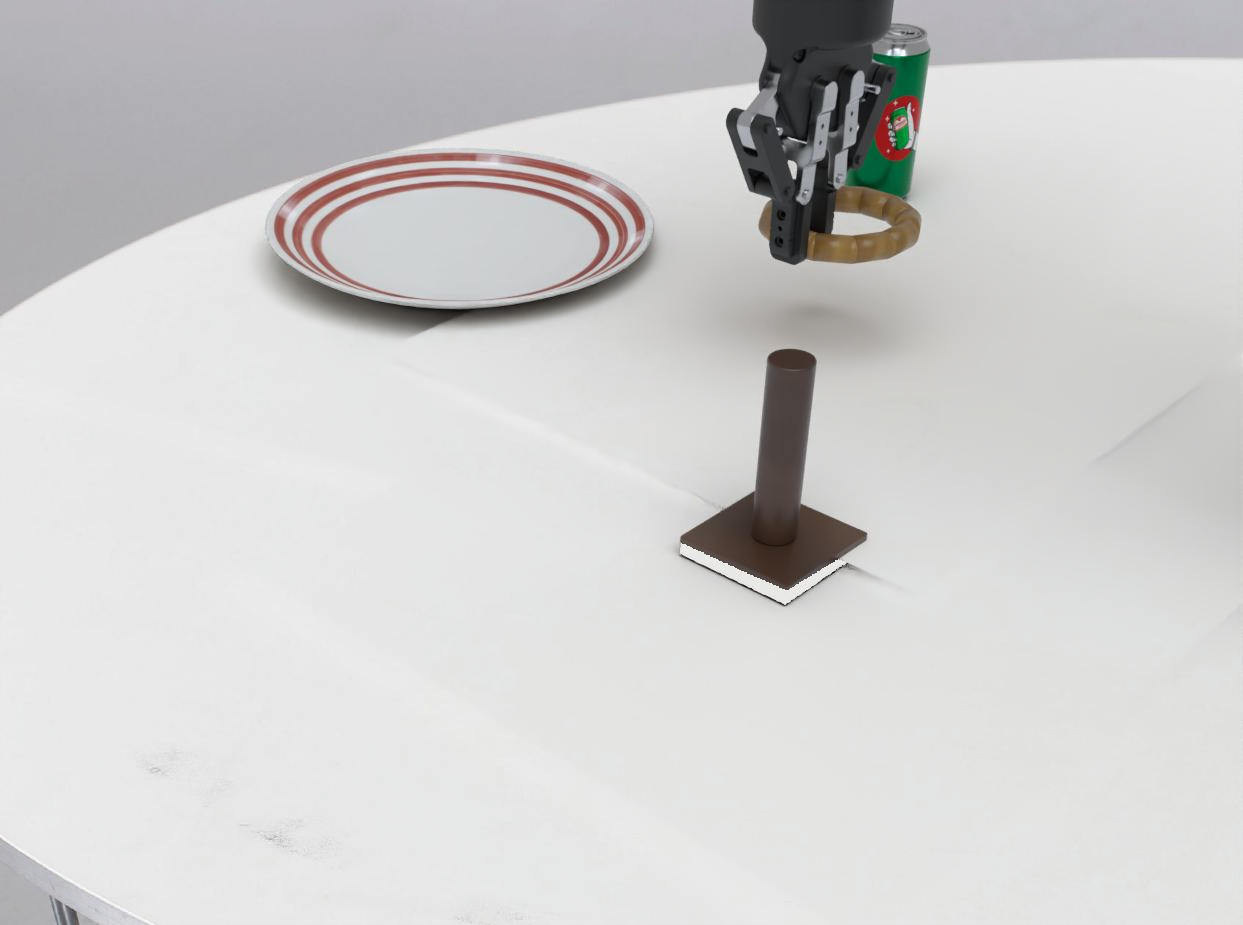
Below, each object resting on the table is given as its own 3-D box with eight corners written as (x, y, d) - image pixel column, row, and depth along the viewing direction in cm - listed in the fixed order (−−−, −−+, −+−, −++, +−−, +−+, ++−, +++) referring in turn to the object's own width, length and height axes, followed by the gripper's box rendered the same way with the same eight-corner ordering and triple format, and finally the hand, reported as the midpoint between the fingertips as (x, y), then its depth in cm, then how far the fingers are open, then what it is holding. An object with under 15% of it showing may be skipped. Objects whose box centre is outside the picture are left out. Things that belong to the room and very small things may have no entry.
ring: (821, 195, 104) (823, 170, 103) (949, 233, 99) (953, 207, 98) (727, 238, 99) (729, 212, 98) (857, 281, 94) (861, 254, 93)
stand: (759, 504, 90) (777, 315, 83) (865, 551, 86) (893, 357, 79) (678, 555, 86) (690, 360, 79) (785, 606, 82) (807, 407, 75)
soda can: (849, 179, 127) (868, 18, 120) (914, 186, 126) (937, 24, 119) (837, 202, 124) (856, 38, 116) (903, 210, 122) (927, 44, 115)
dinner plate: (711, 223, 121) (714, 178, 119) (545, 374, 102) (545, 325, 100) (395, 166, 131) (392, 124, 129) (192, 295, 112) (185, 248, 110)
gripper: (808, -22, 80) (779, 308, 91) (961, -74, 88) (918, 237, 99) (691, -46, 84) (677, 272, 95) (846, -94, 92) (817, 206, 103)
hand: (799, 253), depth 97 cm, fingers closed on ring, 1 cm apart
